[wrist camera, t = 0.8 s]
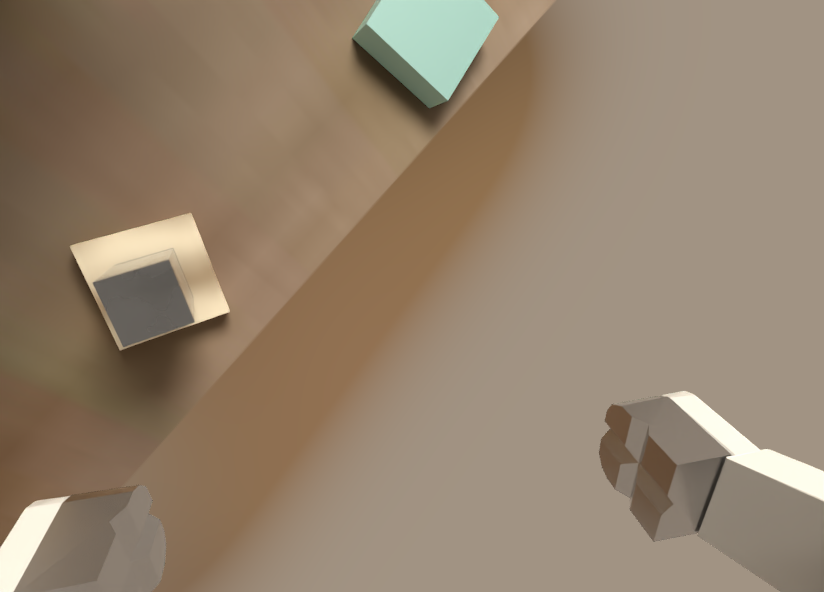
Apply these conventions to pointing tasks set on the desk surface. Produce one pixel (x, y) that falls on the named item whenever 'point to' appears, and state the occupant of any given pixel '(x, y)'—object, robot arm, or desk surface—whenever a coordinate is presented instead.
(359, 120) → the desk surface
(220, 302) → the stand
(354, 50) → the desk surface
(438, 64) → the stand
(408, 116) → the desk surface
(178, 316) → the block
